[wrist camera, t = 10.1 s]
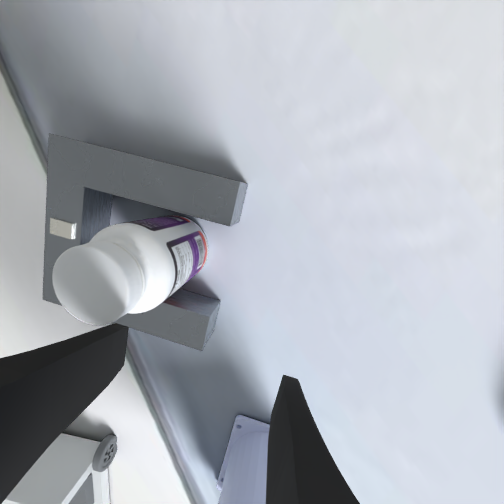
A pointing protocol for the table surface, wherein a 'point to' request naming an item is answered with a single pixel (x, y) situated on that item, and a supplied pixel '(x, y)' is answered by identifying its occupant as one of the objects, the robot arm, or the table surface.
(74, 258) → the pill bottle
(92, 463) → the toy rover
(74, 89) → the table surface
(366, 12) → the table surface
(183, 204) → the bracket
